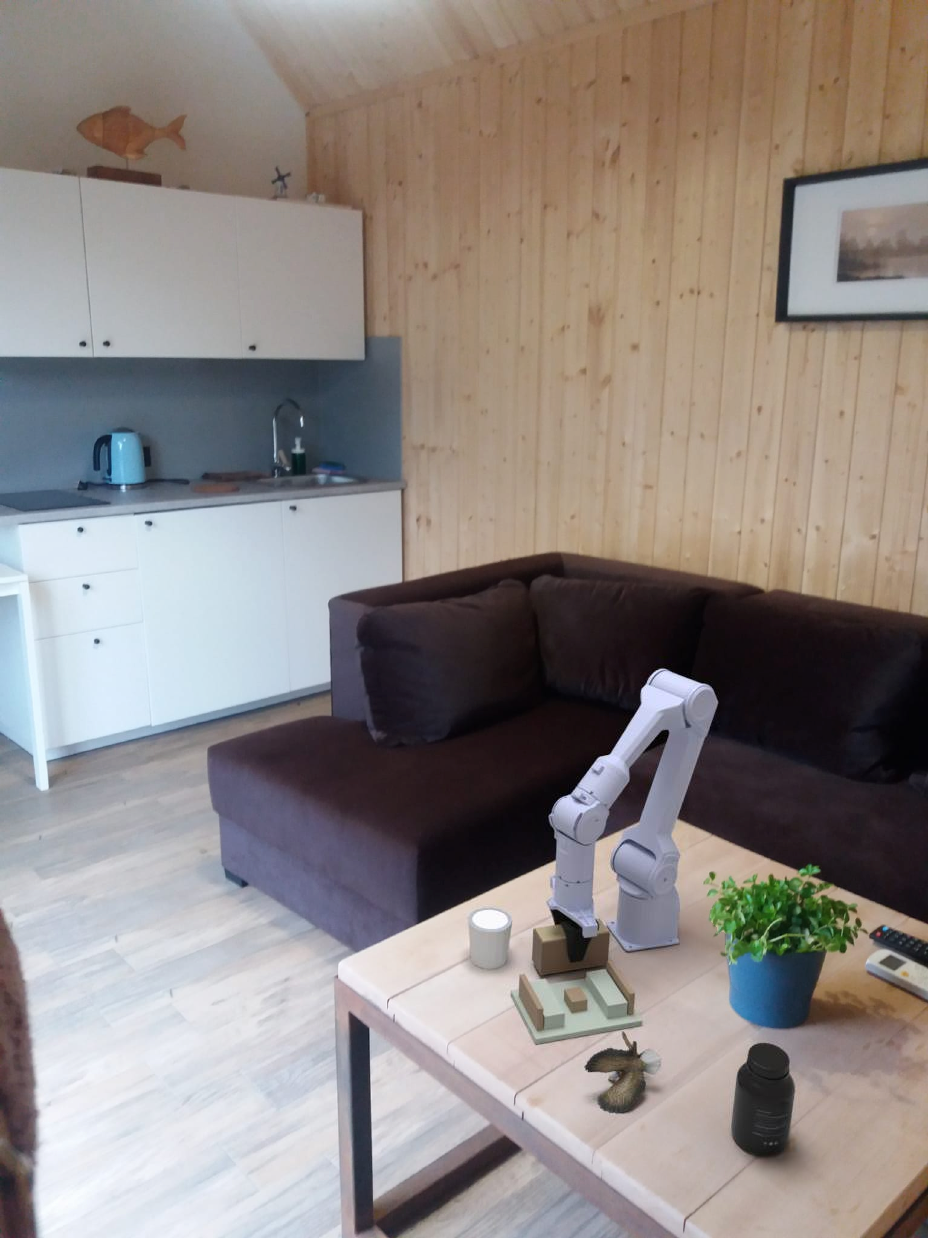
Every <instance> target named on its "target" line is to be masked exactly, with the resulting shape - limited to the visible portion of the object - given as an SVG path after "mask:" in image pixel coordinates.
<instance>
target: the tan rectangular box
mask: <svg viewBox="0 0 928 1238" xmlns="http://www.w3.org/2000/svg"><path fill="white" fill-rule="evenodd" d="M595 919H596V920H597V922H598V923H599V930H598V931H597V936H594V937H593V938H592V939H591V941H590V943H589V945H588V948H587V951H586V954H585V956H584V959H583V961H579V962H573V963H571V962H570V961H569V958H568V952H567V941H566V936H565V933H564V930H563V928H562V926H561V924H559V925H548V926H547V925H546V926H541V927H535V928H533V929H532V932H533V933H532V949H531V950H532V951H531V952H532V953H531V961H532V962H533V964H534V966H535V968H536V969H537V971H538V973H539V975H540V976H544V975H545V976H546V975H550V974H557V973H563V972H568V971H575V970H581V969H587V968H593V967H594V968H595V967H599V966H607V961H609V955H610V954H609V953H610V940H611V932H610V930H608V928H607V926H606V925H605V924H604V923H603V921H602V920H601V919H600V918H595Z"/></svg>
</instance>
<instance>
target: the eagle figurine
mask: <svg viewBox="0 0 928 1238" xmlns="http://www.w3.org/2000/svg"><path fill="white" fill-rule="evenodd" d="M621 1036H622V1040H623V1041H624V1043H625V1045H626V1047H627V1050H626V1049H625V1050H624V1049H617V1048H613V1047H607V1048H606V1049H603V1050H600V1051H598V1052H597V1053H594V1054H593V1055H592V1056H591V1057H590V1058H589V1060H587V1061H586V1064H585V1065H584V1066H583V1068H584V1069H585V1071H587V1073H601V1074H602V1073H604V1074H605V1073H606V1074H607V1073H608V1078H607V1080H608V1081H615V1080H616V1081H615V1083H614V1084H612V1085H611V1086H610V1087H609V1088H608V1089H607V1090H605V1091H604V1092H603V1093H600V1095H598V1096H597V1098H596V1099H597V1100H598V1101H597V1104H598V1105H599V1109H601V1110H602V1111H603V1112H608V1113H610V1114H611V1113H614V1112H615V1113H616V1114H619V1113H624V1112H626V1111H628V1110H629V1109H630V1108H632V1107H633V1106H634V1104H635V1102H637V1099H639V1097H640V1096H641V1094H643V1093H644V1092H645V1091H646V1087H647V1082H646V1079H645V1076H644V1075H645V1074H644V1073H647V1074H650V1075H656V1074H657V1073H658V1071H659V1070H660V1067H661V1065H662V1061H661V1060H662V1058H661V1057H660V1054H659V1053H658V1052H657V1051H655V1050H653V1049H651V1048H647V1049H645V1050H644V1051H642V1052H640V1053H638V1043H637V1041H635V1040H633V1041H632V1043H631V1042H630V1041H629V1039H628V1037H627V1035H626V1032H625V1031H621ZM609 1073H610V1074H609Z"/></svg>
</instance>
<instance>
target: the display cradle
mask: <svg viewBox="0 0 928 1238" xmlns="http://www.w3.org/2000/svg"><path fill="white" fill-rule="evenodd" d="M518 981H519V982H518V989H517V988H516V989H511V990H510V997H511V998H512V1001H513V1002H514V1004H515V1006H516V1008H517V1010H518V1012H519V1015H520V1017H521V1018H522V1020H523V1023H524V1024H525V1026H526V1027H527V1030H528V1032H529V1034H530V1036H531V1037H532V1040H533V1042H534V1044H535V1045H539V1044H545V1043H551V1042H557V1041H562V1040H568V1039H573V1038H579V1037H584V1036H589V1035H595V1034H601V1033H607V1032H612V1031H618V1030H622V1029H623V1030H624V1029H630V1028H635V1027H640V1026H643V1019H642V1018H641V1016H640V1015H639V1014H638V1011H636V1008H635V999H636V992H635V990H634V989H633V988H632V986H631V985H630V983H629V982H628V981H627V979H626V978H625V976H624V975H623V974H622V972H621V971H620V968H618V966H617V965H616V963H615V962H614V960H612V959H610V960H609V959H608V961H607V965H606V969H605V968H604V969H598V970H591V971H586V974H585V978H579V979H571V980H567V981H561V982H560V981H559V982H554V983H549V982H548V981H547V979H546V978H542V979H536V980H535V979H534V980H529V979H528V977H527V975H526V974H525V973H521V974H519V977H518Z"/></svg>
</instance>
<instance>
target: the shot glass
mask: <svg viewBox="0 0 928 1238" xmlns="http://www.w3.org/2000/svg"><path fill="white" fill-rule="evenodd" d="M467 921H468V924H467V925H468V936H469V948H470V949H469V950H470V959H471V962H472V963H473V964H474V965H475V966H477V967H479V968H480V969H485V970H495V969H498V968H501V967H503V966H504V965H505V964H506V963H507V959H508V954H509V953H508V952H509V948H510V947H509V946H510V940H511V939H510V938H511V933H512V932H511V931H512V925H513V919H512V916H511V914H509V913H508V912H507V911H506V910H503V909H500V908H497V907H481V908H477V909H475V910H474V911H472V912H470V913H469V916H468V917H467Z"/></svg>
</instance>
